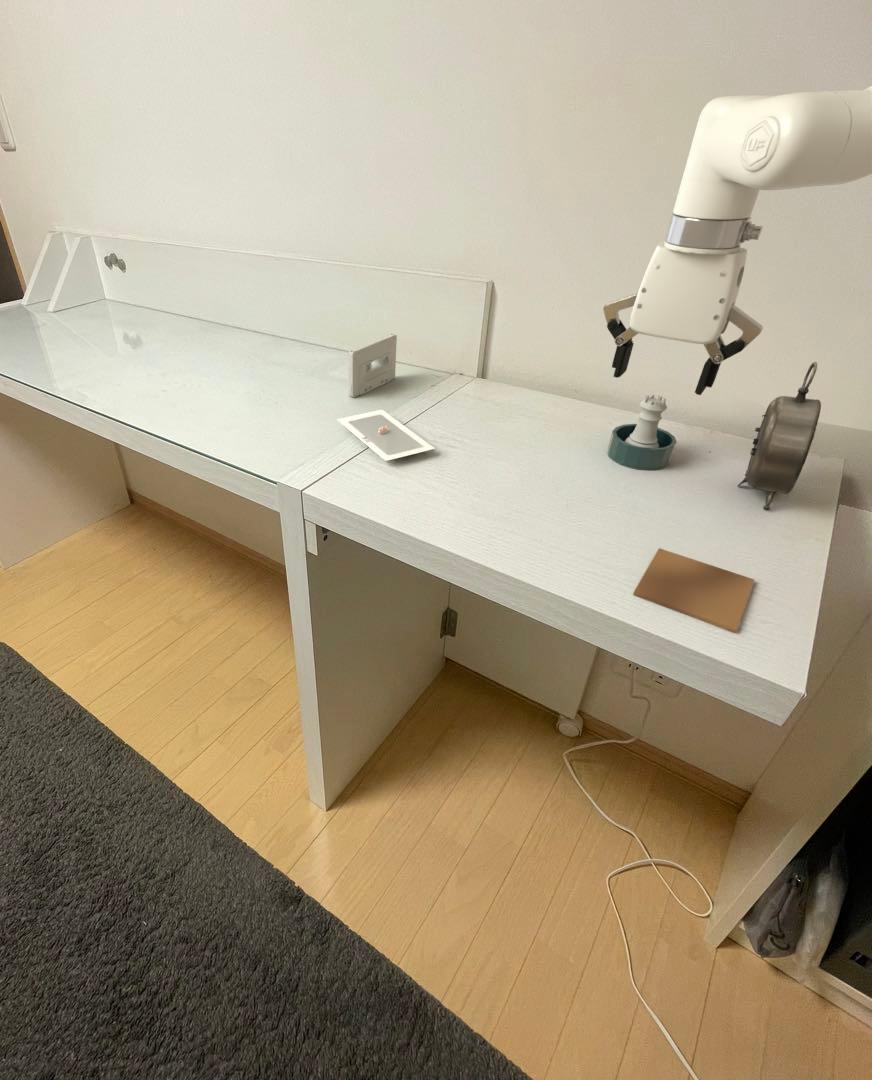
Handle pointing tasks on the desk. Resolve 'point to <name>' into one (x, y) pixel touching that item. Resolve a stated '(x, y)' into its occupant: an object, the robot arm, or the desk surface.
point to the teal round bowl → (640, 449)
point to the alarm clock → (783, 442)
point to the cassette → (369, 375)
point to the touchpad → (385, 435)
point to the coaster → (696, 589)
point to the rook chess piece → (648, 422)
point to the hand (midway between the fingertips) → (658, 382)
